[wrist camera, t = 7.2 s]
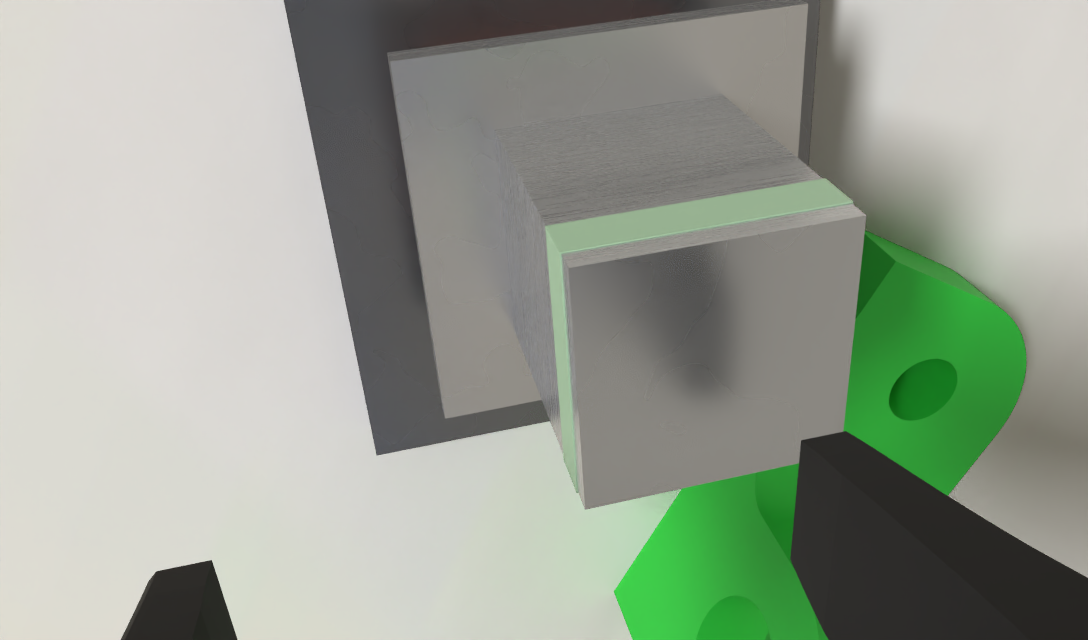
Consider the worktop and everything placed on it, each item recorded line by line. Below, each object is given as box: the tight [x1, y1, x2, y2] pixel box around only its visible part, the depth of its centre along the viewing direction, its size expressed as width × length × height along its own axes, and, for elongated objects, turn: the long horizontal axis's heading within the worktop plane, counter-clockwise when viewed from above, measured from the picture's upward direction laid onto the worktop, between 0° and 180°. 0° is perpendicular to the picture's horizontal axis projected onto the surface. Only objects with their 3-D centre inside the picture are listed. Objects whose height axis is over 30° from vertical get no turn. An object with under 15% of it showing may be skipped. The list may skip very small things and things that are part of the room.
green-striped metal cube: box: [494, 95, 866, 509], centre depth 16 cm, size 4×4×5 cm
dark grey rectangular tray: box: [284, 0, 820, 455], centre depth 20 cm, size 12×10×4 cm
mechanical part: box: [614, 231, 1026, 640], centre depth 24 cm, size 12×6×8 cm, turn 152°
